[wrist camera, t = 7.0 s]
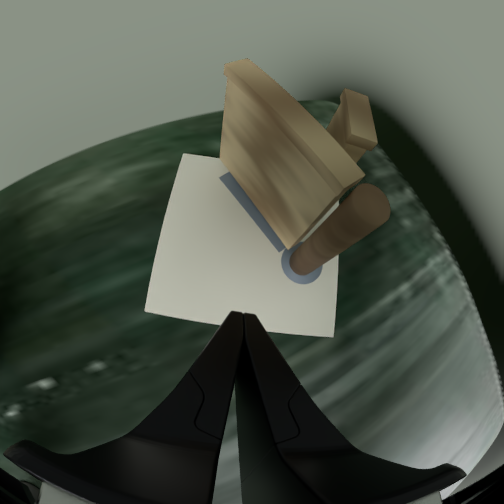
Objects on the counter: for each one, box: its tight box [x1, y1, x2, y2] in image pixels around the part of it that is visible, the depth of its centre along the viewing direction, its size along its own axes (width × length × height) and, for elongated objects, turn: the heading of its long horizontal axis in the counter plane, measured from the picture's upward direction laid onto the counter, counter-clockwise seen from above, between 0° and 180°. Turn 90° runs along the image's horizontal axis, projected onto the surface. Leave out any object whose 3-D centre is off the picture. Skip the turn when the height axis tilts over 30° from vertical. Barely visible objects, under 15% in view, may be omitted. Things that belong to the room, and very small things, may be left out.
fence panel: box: [220, 58, 365, 250], centre depth 15 cm, size 9×1×9 cm, turn 35°
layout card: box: [145, 153, 339, 337], centre depth 19 cm, size 12×12×1 cm
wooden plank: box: [289, 88, 390, 276], centre depth 15 cm, size 8×2×9 cm, turn 173°
